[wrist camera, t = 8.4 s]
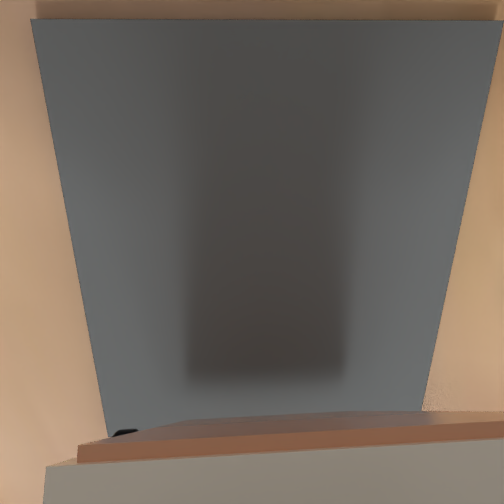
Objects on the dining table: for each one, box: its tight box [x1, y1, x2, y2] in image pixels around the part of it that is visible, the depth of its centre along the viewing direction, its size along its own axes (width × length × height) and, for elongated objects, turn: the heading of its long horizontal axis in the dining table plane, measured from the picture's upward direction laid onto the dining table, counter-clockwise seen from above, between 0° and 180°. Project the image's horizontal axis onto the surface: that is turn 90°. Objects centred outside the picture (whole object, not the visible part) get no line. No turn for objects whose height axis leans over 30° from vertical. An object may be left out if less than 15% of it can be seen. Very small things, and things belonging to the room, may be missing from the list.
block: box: [43, 411, 504, 504], centre depth 9 cm, size 2×6×12 cm
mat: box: [30, 19, 504, 437], centre depth 14 cm, size 14×12×1 cm
